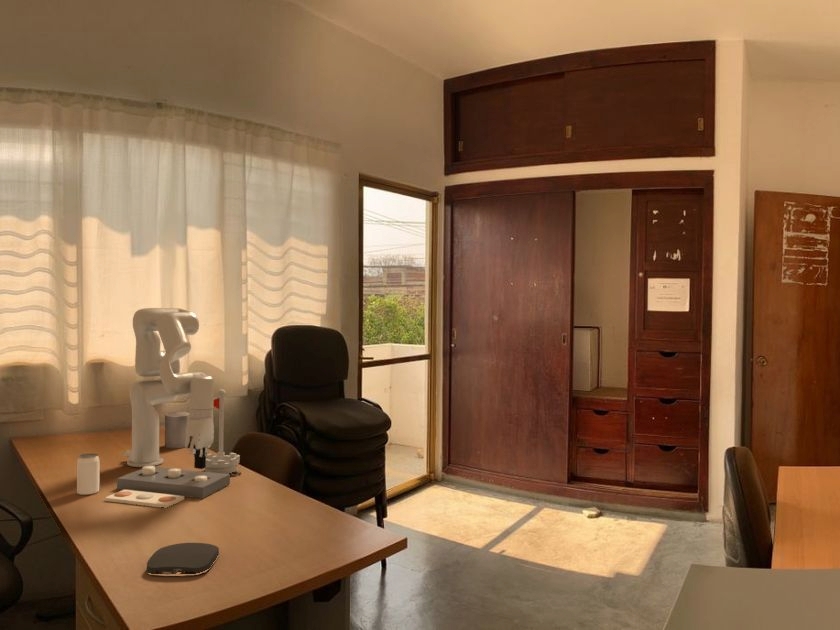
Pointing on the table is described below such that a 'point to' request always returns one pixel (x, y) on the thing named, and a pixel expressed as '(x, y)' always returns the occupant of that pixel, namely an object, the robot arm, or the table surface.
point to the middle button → (174, 473)
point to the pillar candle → (175, 429)
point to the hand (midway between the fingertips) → (199, 467)
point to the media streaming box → (183, 558)
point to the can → (88, 474)
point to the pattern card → (144, 498)
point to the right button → (200, 478)
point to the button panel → (174, 482)
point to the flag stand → (221, 445)
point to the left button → (148, 470)
